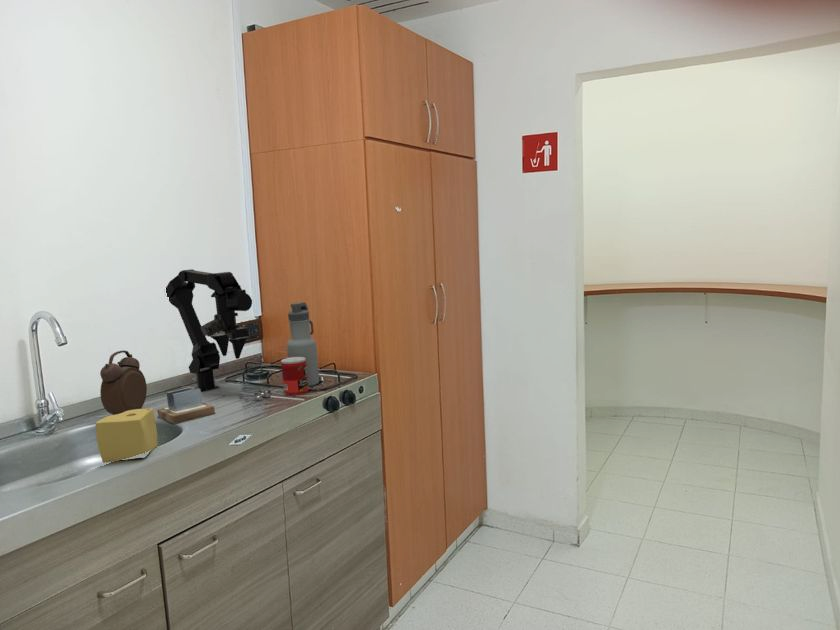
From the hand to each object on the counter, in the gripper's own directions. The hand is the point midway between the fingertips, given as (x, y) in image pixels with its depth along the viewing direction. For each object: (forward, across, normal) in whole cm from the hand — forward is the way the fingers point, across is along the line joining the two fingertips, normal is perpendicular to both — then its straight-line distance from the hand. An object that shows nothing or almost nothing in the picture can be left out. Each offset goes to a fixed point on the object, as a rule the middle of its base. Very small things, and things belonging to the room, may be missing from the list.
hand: (230, 357), depth 204 cm
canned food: (+12, +19, +12) cm, 26 cm away
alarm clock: (+12, -2, -34) cm, 36 cm away
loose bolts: (+12, +14, +2) cm, 19 cm away
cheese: (+12, +35, -45) cm, 58 cm away
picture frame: (+12, +13, -22) cm, 28 cm away
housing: (+10, +13, -22) cm, 27 cm away
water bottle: (+12, +12, +20) cm, 26 cm away
